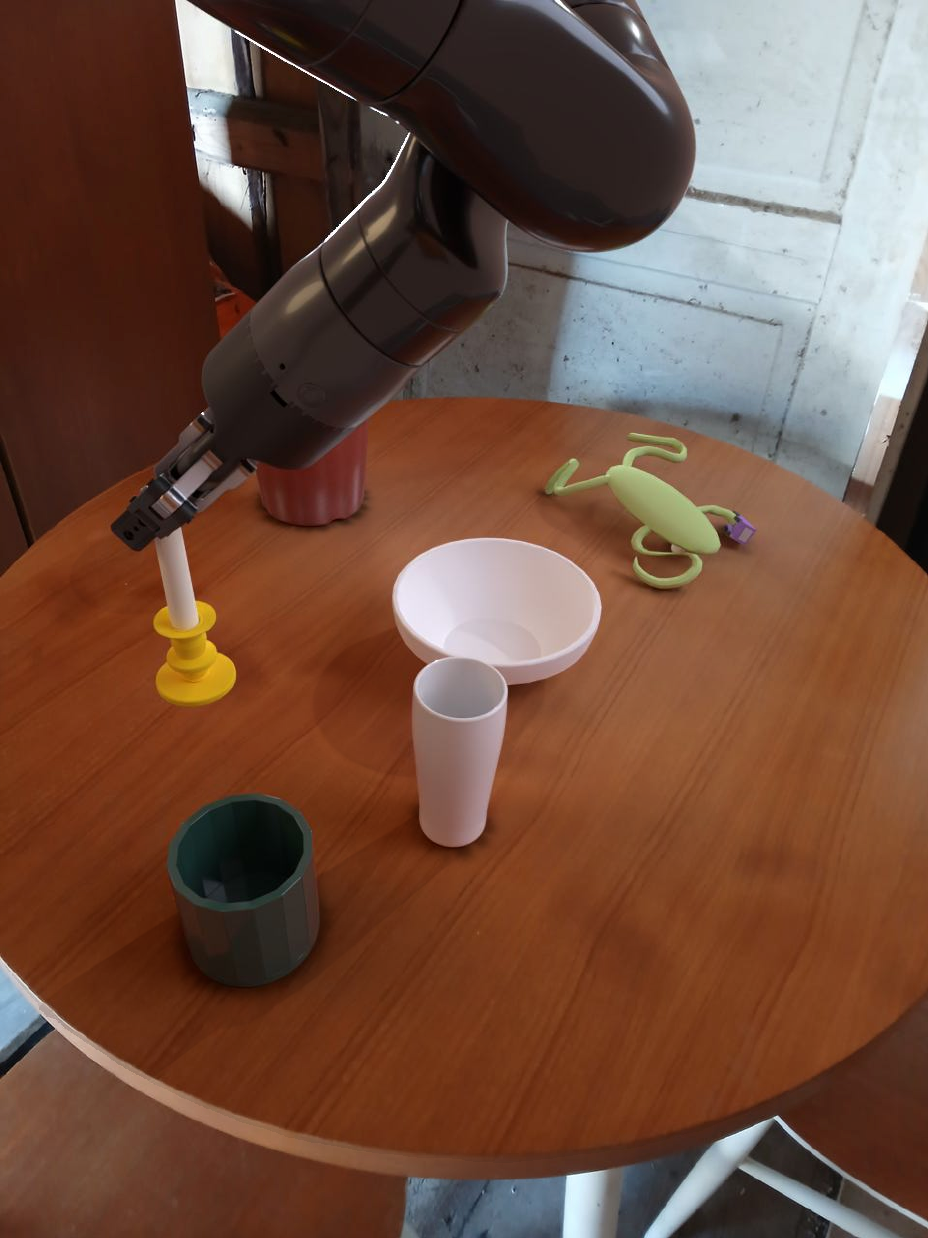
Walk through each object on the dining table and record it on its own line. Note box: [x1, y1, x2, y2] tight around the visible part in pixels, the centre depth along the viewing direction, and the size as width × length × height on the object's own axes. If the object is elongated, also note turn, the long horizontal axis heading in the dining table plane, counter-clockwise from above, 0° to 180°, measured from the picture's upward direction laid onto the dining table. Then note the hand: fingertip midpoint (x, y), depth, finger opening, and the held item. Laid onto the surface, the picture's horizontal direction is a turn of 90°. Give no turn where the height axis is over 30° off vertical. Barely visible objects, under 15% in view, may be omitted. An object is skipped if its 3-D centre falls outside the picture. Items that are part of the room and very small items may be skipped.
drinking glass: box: [411, 657, 509, 848], centre depth 68 cm, size 7×7×15 cm
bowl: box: [391, 537, 602, 686], centre depth 86 cm, size 20×20×7 cm
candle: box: [152, 526, 237, 708], centre depth 56 cm, size 5×5×16 cm
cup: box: [165, 792, 321, 988], centre depth 62 cm, size 9×9×9 cm
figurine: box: [544, 432, 758, 590], centre depth 107 cm, size 18×27×6 cm
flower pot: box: [254, 418, 370, 527], centre depth 104 cm, size 16×16×16 cm
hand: (135, 527), depth 54 cm, fingers closed on candle
